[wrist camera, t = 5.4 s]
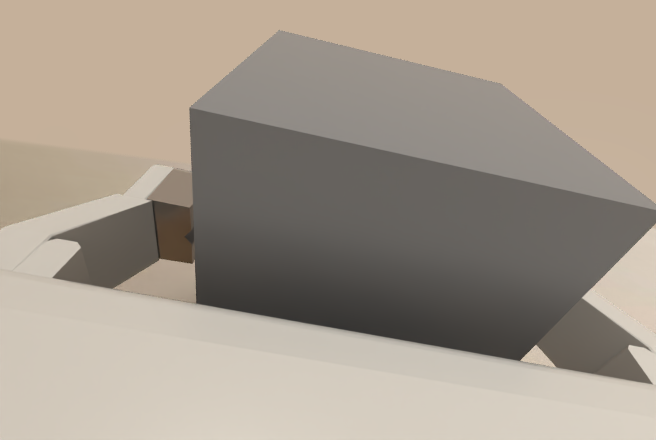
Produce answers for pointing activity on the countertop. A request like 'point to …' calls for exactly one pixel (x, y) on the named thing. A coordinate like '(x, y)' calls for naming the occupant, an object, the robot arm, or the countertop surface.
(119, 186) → the countertop surface
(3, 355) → the robot arm
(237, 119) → the grey block
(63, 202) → the countertop surface
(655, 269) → the countertop surface
